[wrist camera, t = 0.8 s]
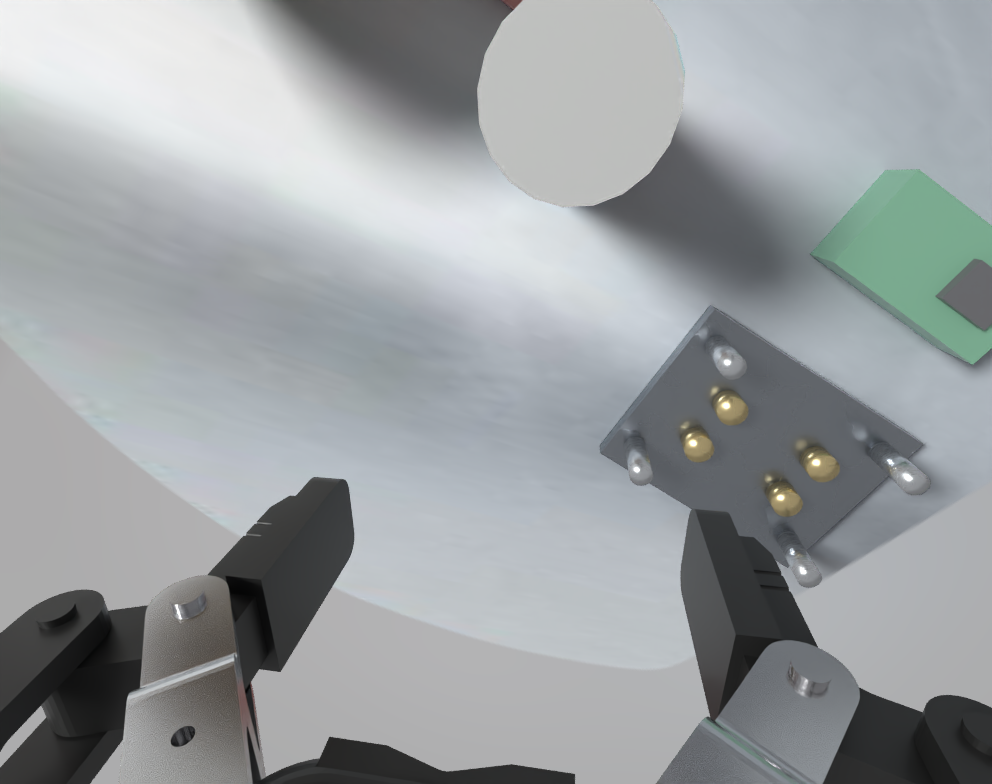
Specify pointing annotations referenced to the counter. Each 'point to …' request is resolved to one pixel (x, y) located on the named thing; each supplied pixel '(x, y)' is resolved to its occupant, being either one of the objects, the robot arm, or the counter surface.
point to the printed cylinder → (580, 97)
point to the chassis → (759, 441)
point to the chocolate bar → (512, 3)
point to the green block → (919, 260)
